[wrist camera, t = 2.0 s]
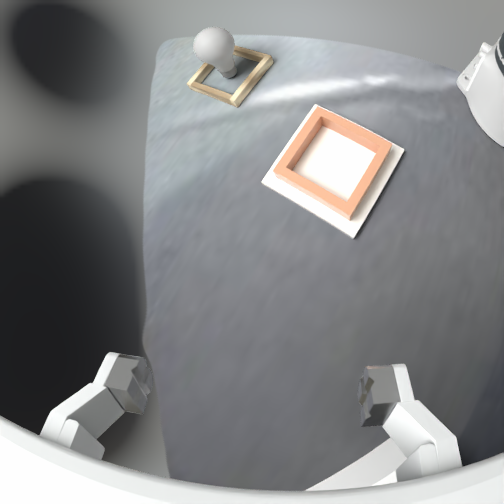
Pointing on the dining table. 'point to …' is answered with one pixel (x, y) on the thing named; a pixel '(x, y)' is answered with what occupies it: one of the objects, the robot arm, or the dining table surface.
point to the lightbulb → (216, 50)
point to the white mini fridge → (367, 469)
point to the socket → (334, 169)
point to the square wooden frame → (245, 86)
